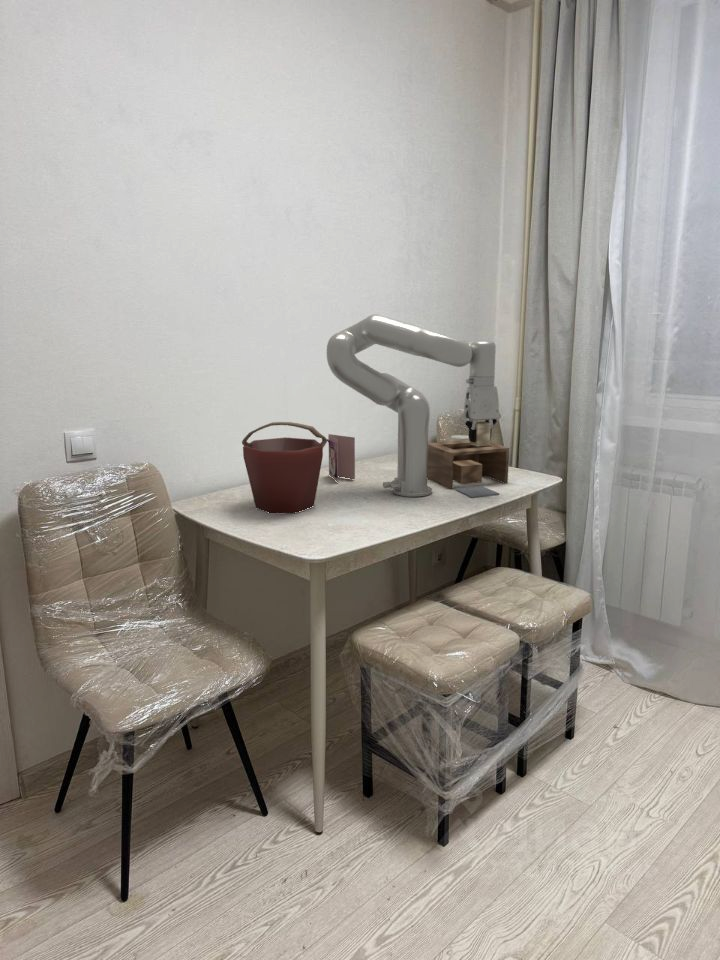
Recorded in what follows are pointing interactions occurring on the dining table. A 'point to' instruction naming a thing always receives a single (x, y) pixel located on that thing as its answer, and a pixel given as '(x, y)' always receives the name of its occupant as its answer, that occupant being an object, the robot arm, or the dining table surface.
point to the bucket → (284, 470)
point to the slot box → (466, 462)
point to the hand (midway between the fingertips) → (479, 440)
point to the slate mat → (477, 492)
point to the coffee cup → (459, 437)
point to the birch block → (482, 434)
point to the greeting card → (341, 456)
